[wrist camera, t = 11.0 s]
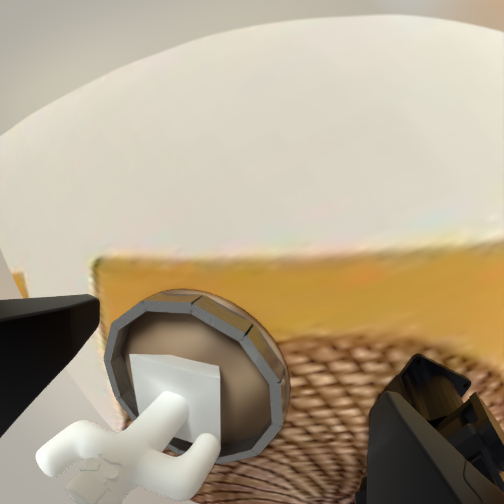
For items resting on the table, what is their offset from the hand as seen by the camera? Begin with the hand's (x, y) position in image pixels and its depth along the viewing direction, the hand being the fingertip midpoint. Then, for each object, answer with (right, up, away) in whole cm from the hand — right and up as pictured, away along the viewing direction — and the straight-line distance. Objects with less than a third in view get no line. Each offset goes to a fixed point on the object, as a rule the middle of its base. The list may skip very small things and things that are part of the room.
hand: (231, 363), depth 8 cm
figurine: (-4, -8, +16) cm, 18 cm away
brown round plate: (-4, -8, +16) cm, 19 cm away
